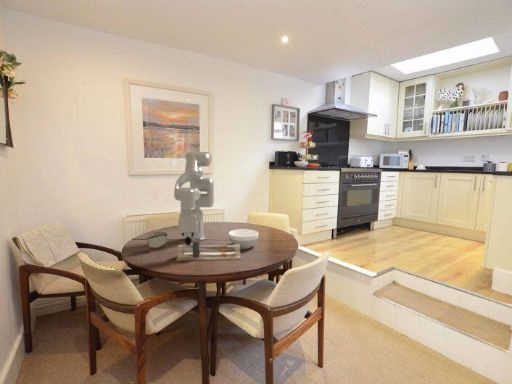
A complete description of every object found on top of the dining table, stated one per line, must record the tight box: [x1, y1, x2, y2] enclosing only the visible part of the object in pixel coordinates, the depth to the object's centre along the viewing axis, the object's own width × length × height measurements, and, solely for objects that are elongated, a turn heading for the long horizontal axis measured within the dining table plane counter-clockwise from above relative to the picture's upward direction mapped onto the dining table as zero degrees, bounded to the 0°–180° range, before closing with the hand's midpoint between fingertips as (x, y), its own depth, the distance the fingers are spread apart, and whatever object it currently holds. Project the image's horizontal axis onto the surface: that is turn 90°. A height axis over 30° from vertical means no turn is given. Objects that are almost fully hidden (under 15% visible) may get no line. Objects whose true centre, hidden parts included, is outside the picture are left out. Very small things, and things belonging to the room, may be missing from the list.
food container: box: [146, 231, 168, 254], centre depth 149 cm, size 12×6×10 cm, turn 135°
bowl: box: [228, 228, 259, 250], centre depth 158 cm, size 19×19×9 cm
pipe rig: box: [176, 244, 241, 262], centre depth 139 cm, size 9×34×6 cm, turn 96°
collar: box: [192, 238, 201, 257], centre depth 138 cm, size 7×3×8 cm, turn 6°
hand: (188, 244), depth 137 cm, fingers closed
